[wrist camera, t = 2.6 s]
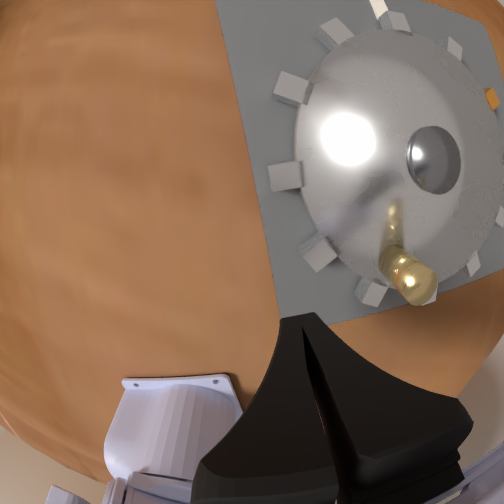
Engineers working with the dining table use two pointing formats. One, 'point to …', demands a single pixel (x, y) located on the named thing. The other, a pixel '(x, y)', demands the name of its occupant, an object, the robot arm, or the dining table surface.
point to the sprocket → (393, 159)
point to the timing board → (282, 121)
